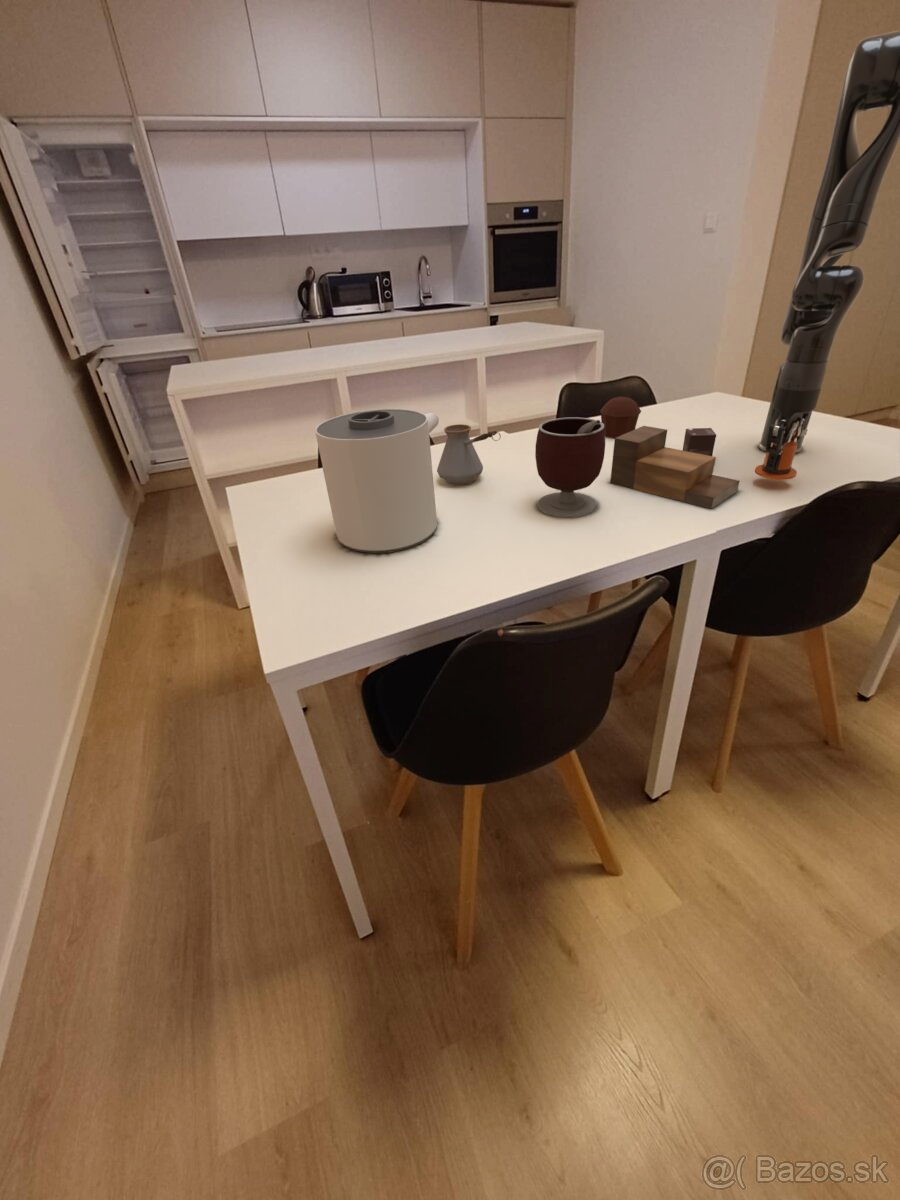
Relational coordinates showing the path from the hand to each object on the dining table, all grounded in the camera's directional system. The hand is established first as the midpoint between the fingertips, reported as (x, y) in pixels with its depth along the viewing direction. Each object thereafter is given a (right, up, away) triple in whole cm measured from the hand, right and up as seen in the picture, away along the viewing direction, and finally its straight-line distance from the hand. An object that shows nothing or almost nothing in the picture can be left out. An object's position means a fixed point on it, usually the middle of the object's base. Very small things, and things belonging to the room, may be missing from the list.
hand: (776, 466), depth 114 cm
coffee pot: (-66, -1, +14) cm, 67 cm away
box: (-9, +6, +18) cm, 21 cm away
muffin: (-22, +20, +40) cm, 50 cm away
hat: (0, -1, +1) cm, 2 cm away
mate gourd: (-45, -9, 0) cm, 46 cm away
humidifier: (-82, -14, -3) cm, 83 cm away
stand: (-21, -4, +5) cm, 22 cm away
